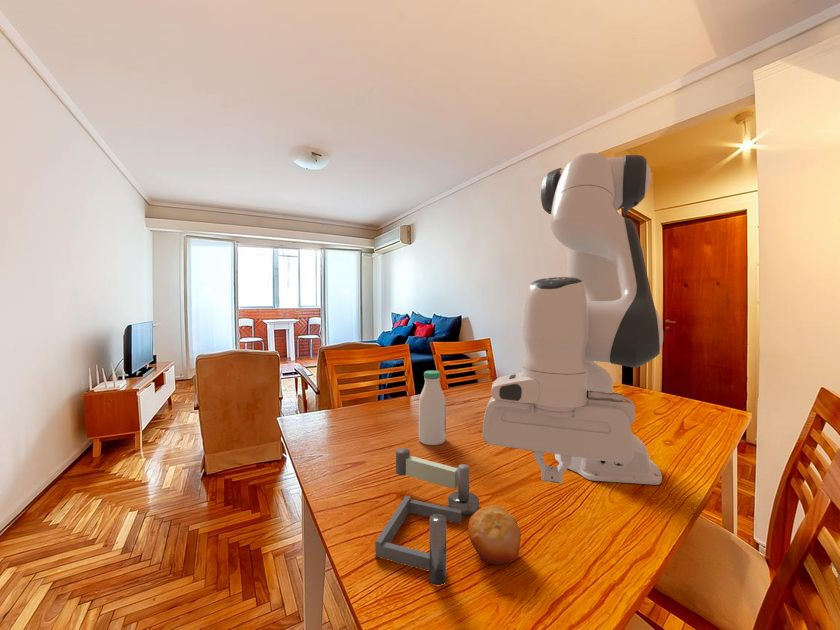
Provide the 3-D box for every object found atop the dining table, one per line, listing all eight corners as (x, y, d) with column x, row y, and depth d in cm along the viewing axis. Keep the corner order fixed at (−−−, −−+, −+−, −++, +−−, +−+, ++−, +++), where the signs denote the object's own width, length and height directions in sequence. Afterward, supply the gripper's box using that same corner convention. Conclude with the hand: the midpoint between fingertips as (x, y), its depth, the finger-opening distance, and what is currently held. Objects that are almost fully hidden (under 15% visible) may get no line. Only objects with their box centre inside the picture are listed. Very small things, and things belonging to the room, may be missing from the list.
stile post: (448, 575, 49) (448, 515, 49) (443, 588, 47) (443, 526, 46) (432, 571, 50) (432, 512, 50) (427, 584, 48) (427, 522, 47)
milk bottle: (443, 447, 92) (443, 375, 91) (416, 444, 94) (416, 374, 93) (447, 436, 100) (447, 369, 99) (421, 434, 101) (421, 368, 100)
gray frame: (461, 520, 61) (461, 507, 61) (443, 575, 49) (443, 558, 49) (405, 508, 65) (405, 495, 65) (375, 556, 53) (375, 541, 53)
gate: (466, 504, 63) (466, 471, 63) (393, 480, 72) (392, 452, 71) (471, 495, 66) (471, 465, 66) (400, 474, 74) (400, 447, 74)
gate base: (481, 501, 67) (481, 494, 67) (476, 520, 62) (476, 512, 62) (452, 495, 69) (452, 488, 69) (444, 513, 64) (444, 505, 63)
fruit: (507, 520, 59) (515, 496, 55) (520, 574, 53) (530, 552, 48) (462, 522, 59) (466, 497, 54) (469, 576, 52) (474, 553, 48)
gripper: (629, 389, 49) (626, 482, 49) (487, 377, 55) (486, 460, 56) (642, 400, 43) (639, 507, 43) (481, 386, 49) (479, 478, 50)
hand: (551, 480), depth 50 cm, fingers closed
